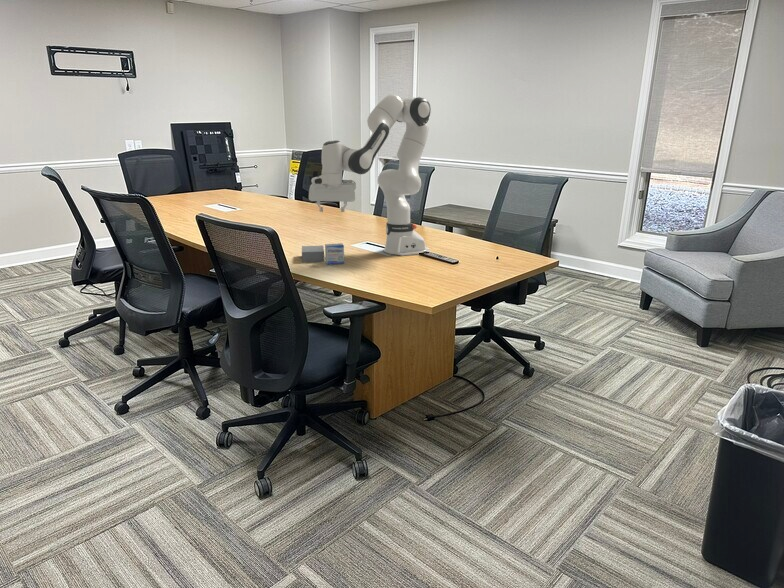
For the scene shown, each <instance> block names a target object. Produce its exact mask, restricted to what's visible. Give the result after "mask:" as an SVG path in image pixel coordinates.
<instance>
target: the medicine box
mask: <svg viewBox="0 0 784 588" xmlns="http://www.w3.org/2000/svg"><path fill="white" fill-rule="evenodd" d="M324 257H325V263H326V265H327V266H328V265H330V264H332V265H343V264H345V245H344V244H343V243H342V242H341V243H327V244H326V243H325V244H324Z"/></svg>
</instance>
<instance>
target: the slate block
mask: <svg viewBox="0 0 784 588" xmlns="http://www.w3.org/2000/svg"><path fill="white" fill-rule="evenodd" d="M321 261H324V262H325V246H324V245H302V246H301V262H302V263H317V262H318V263H321Z"/></svg>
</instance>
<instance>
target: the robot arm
mask: <svg viewBox="0 0 784 588" xmlns="http://www.w3.org/2000/svg"><path fill="white" fill-rule="evenodd" d="M431 112H432V111H431V104H430V102H429V100H427V98H424V97H420V96H418V97H414V96H413V97H412V96H410V97H404V98H401V97H400V96H399V95H397V94H394V93H391V94H388V95H386V96H385V97H383V98H382V100H380V101H379V102H378V103H377V105H376V106H375V107H374V108H373V109H372V111H371V112H370V114H369V115H368V117H367V120H366V122H367V127H368V128H369V130H370V132H372V133H371V135H370V136H369V138H368V139H367V141H366V142H365V144H364V146H363V147H361V148H359V149H353V148H350V147H348V146H346V145H345V144H343V143H342V142H341V141H340V140H329V141H326V142H324V143H323V144H322V147H321V167H322V169H321V175H318V176H315V177H312V178H311V184H310V185H309V189H308V200H309V201H310V202H316V205H317V207H318V208H319V211H318V212H320V213H321V212H322V213H323V212H324V208H323V206H321V202H343V207H342V206H341V207H340V213H345V209H346V206H347V205H348V203H349V202H353V203H354V201H355V200H356V191H355V190H356V189H357V183H356V181H354V180H352V179H343V171H345V172H350V173H354V174H358V175H364V174H366V173H368V172H369V171H370V170H371V168H372V166H373V164H374V163H373V162H374V161H375V160H374V159H376V156H377V154H378V153H379V151H381V147H382V146H383V145H384V144H385V142H386V140H387V139H388V136H389V134H390V130H391V129H392V128H393V126H394V124H396V123H397V122H398V123H405V125H406V126H405V127H406V128H405V131H404V134H403V136H402V139H401V142H400V145H399V147H398V150H397V152H396V157H397V159H398V160H399V161H398V162H399V165H398V169H394V168H391V169H384V170H382V171H381V172H380V173H379V174H378V177H377V184H378V187H379V188H380V189H381V191H382V194H383V197H384V199H385V203H386V213H387V215H386V225H385V234H386V238H385V239H386V240H385V245H384V249H383V252H384V253H386V254H390V255H398V256H401V257H402V256H404V257H405V256H413V255H420V254H419V253H421V252H423V251H427V252H429V253H430V252H431V250H430V247H428V246H426V241H425V239H424V237H423V236H422V235H421V234H419V233H418V232H417V231H415V230H416V229H417V224H415V223H412V222H411V206H410V204H409V202H408V201H407V199H406V196H414V195H416V194H417V193H419V191H420V190H421V187H422V179H421V177H420V174H419V167H420V162H421V157H422V155H423V153H424V150H425V148H426V147H425V146H426V144H427V141H428V140H427V139H428V136H429V130H430V127H429V125H428V121H429V120H430V116H431Z"/></svg>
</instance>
